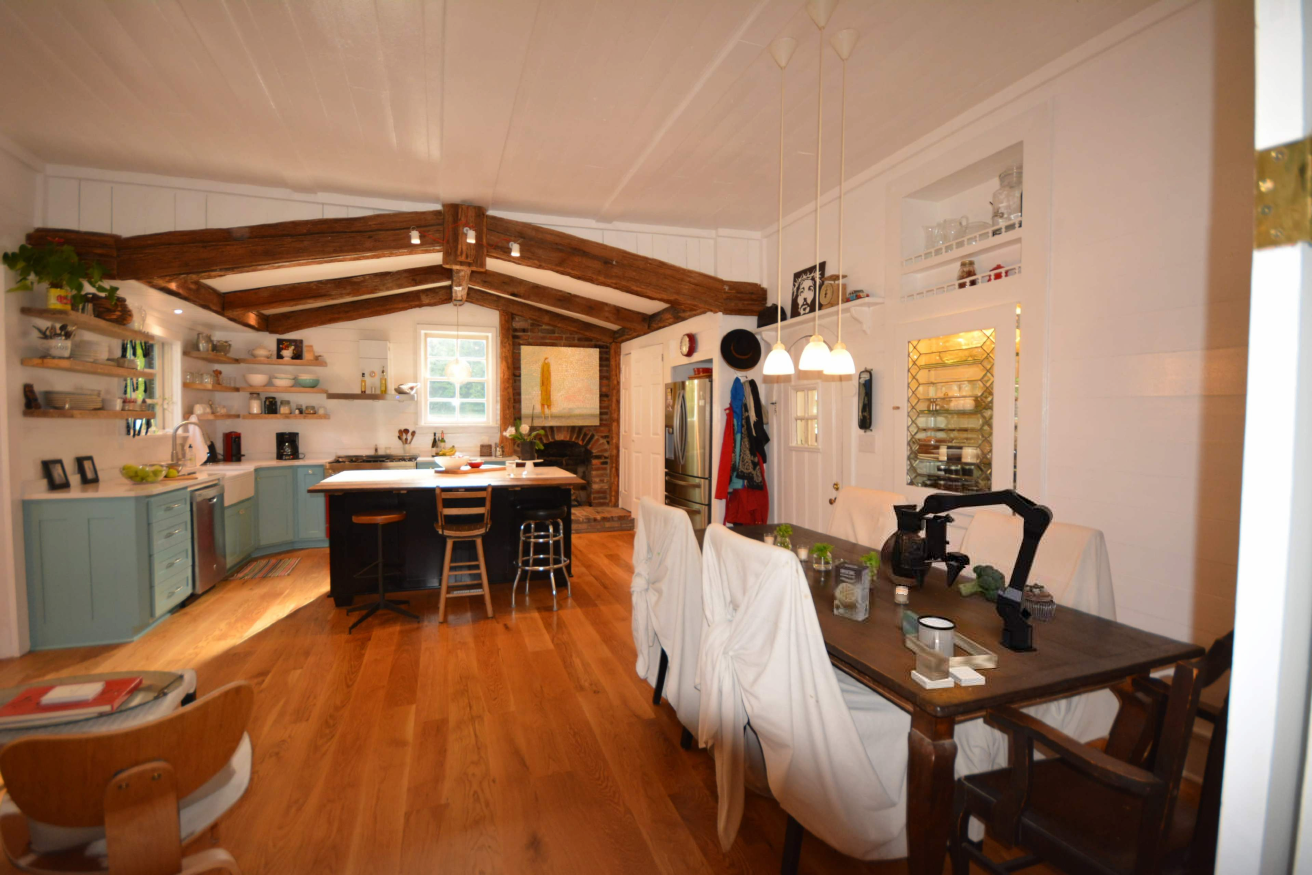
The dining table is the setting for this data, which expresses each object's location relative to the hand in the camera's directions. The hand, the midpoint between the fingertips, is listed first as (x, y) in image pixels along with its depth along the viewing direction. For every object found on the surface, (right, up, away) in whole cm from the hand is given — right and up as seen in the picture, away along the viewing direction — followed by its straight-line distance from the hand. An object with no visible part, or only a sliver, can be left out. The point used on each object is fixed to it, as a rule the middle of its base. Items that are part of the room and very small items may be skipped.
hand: (934, 588), depth 171 cm
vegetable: (+30, -11, +28) cm, 42 cm away
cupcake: (+37, -12, +10) cm, 40 cm away
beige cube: (-17, -12, -33) cm, 39 cm away
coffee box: (-21, -12, +12) cm, 27 cm away
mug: (-9, -13, -19) cm, 25 cm away
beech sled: (-6, -12, -15) cm, 21 cm away
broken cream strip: (-12, -14, -33) cm, 37 cm away
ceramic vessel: (+11, -10, +45) cm, 47 cm away
